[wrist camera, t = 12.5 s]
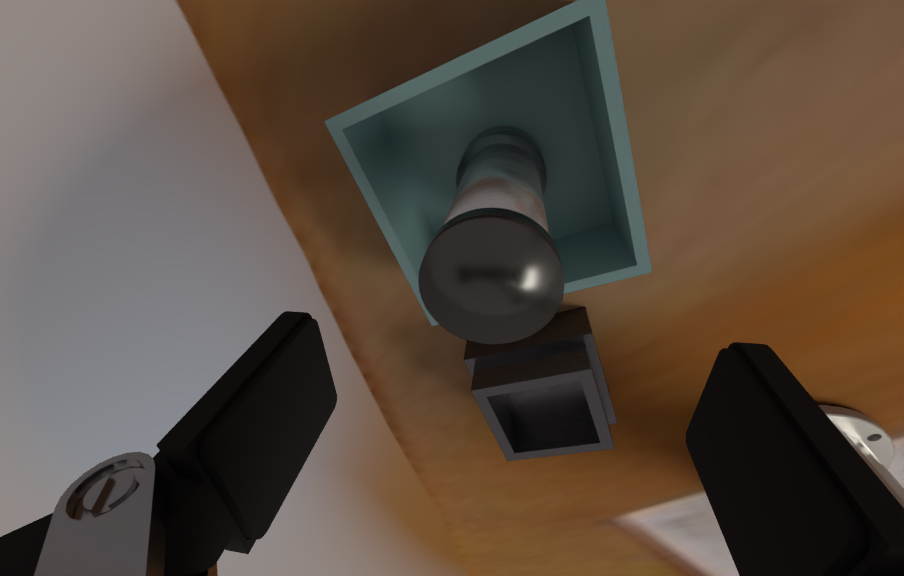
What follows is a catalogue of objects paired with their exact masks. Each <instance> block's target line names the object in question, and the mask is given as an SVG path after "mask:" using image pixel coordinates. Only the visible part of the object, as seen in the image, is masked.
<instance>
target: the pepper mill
mask: <svg viewBox="0 0 904 576" xmlns="http://www.w3.org/2000/svg"><path fill="white" fill-rule="evenodd" d="M546 184H547V173H546V168H545V163H544V159H543V155H542V152H541V149H540V148H539V146H538V144H537V143H536V141H535V140H534V139H533V138H532V137H531V136H530V135H529V134H527V133H526V132H524V131H523V130H521V129H518V128H515V127H511V126H497V127H493V128H490V129H487V130H485V131H483V132H482V133H480V134H478V135H477V136H476V137H475V138H474V139H473V140H472V141H471V142H470V144H469V145H468V147H467V148H466V150H465V152H464V155H463V157H462V159H461V161H460V163H459V166H458V169H457V174H456V187H457V192H456V194H455V197H454V199H453V202H452V205H451V207H450V210H449V212H448V215H447V217H446V220H445V222H444V225H443V226H442V227H441V228H440V229H439V230H438V231H437V232H436V234H435V235H434V237H433V238H432V240H431V242H430V244H429V246H428V248H427V251H426V253H425V255H424V258H423V260H422V263H421V266H420V270H419V279H418V284H419V291H420V295H421V298H422V301H423V303H424V305H425V307H426V309H427V310H428V312H429V313H430V315H431V316H432V317H433V318H434V320H435V321H437V322H438V323H439V324H440V325H441V326H442V327H443V328H445V329H446V330H447V331H449V332H451V333H452V334H454V335H456V336H458V337H461V338H463V339H466V340H469V341H473V342H477V343H483V344H505V343H511V342H515V341H518V340H521V339H524V338H526V337H529V336H531V335H533V334H534V333H536V332H538V331H539V330H540V329H542V328H543V327H544V326H545V325H546V324H547V323H549V321H550V320H551V319H552V318H553V317H554V315H555V314H556V312H557V310H558V309H559V306H560V304H561V302H562V298H563V294H564V275H563V270H562V265H561V260H560V256H559V252H558V249H557V247H556V245H555V243H554V241H553V239H552V238H551V236H550V235H549V230H548V225H547V219H546V213H545V208H544V202H543V195H544V192H545V189H546Z"/></svg>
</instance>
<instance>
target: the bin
mask: <svg viewBox="0 0 904 576" xmlns="http://www.w3.org/2000/svg"><path fill="white" fill-rule="evenodd" d="M324 122H325V124H326V126H327V128H328V130H329V132H330V134H331V136H332V138H333V139H334V141H335V143H336V145H337V147H338V149H339V151H340V153H341V155H342V157H343V158H344V160H345V162H346V164H347V166H348V168H349V170H350V172H351V174H352V176H353V177H354V179H355V181H356V183H357V185H358V187H359V189H360V191H361V193H362V195H363V196H364V198H365V200H366V202H367V204H368V206H369V208H370V210H371V212H372V214H373V215H374V217H375V219H376V221H377V223H378V225H379V227H380V229H381V231H382V233H383V234H384V236H385V238H386V240H387V242H388V244H389V246H390V248H391V250H392V252H393V253H394V255H395V257H396V259H397V261H398V263H399V265H400V267H401V269H402V271H403V272H404V274H405V276H406V278H407V280H408V282H409V284H410V286H411V288H412V290H413V291H414V293H415V295H416V297H417V299H418V301H419V303H420V305H421V307H422V309H423V310H424V312H425V314H426V316H427V318H428V320H429V322H430V324H431V326H435V325H439V323H438V322H437V321H435V320H434V318H433V317H432V316H431V315H430V313H429V312H428V310H427V309H426V307H425V305H424V303H423V301H422V298H421V295H420V291H419V284H418V279H419V270H420V266H421V263H422V260H423V258H424V255H425V253H426V251H427V248H428V246H429V244H430V242H431V240H432V238H433V237H434V235H435V234H436V232H437V231H438V230H439V229H440V228H441V227H442V226H443V225H444V222H445V220H446V217H447V215H448V212H449V210H450V207H451V205H452V202H453V199H454V197H455V194H456V192H457V187H456V174H457V169H458V166H459V163H460V161H461V159H462V157H463V155H464V152H465V150H466V148H467V147H468V145H469V144H470V142H471V141H472V140H473V139H474V138H475V137H476V136H477V135H478V134H480V133H482V132H483V131H485V130H487V129H490V128H493V127H497V126H511V127H515V128H518V129H521V130H523V131H524V132H526V133H527V134H529V135H530V136H531V137H532V138H533V139H534V140H535V141H536V143H537V144H538V146H539V148H540V149H541V152H542V155H543V159H544V163H545V168H546V173H547V184H546V189H545V192H544V195H543V202H544V208H545V213H546V219H547V225H548V230H549V235H550V236H551V238H552V239H553V241H554V243H555V245H556V247H557V249H558V252H559V256H560V260H561V265H562V270H563V275H564V294H566V293H570V292H574V291H578V290H582V289H586V288H590V287H594V286H598V285H602V284H606V283H610V282H614V281H618V280H622V279H627V278H631V277H635V276H639V275H643V274H647V273H651V272H652V269H651V263H650V257H649V251H648V245H647V239H646V234H645V228H644V222H643V216H642V210H641V204H640V199H639V193H638V187H637V181H636V175H635V169H634V163H633V158H632V152H631V146H630V140H629V134H628V128H627V122H626V117H625V111H624V105H623V99H622V93H621V87H620V81H619V76H618V70H617V64H616V58H615V52H614V46H613V41H612V35H611V29H610V23H609V17H608V11H607V5H606V0H577V1H575V2H573V3H571V4H569V5H567V6H565V7H562V8H560V9H558V10H556V11H554V12H552V13H550V14H548V15H546V16H544V17H542V18H539V19H537V20H535V21H533V22H531V23H529V24H527V25H525V26H523V27H521V28H518V29H516V30H514V31H512V32H510V33H508V34H506V35H504V36H502V37H500V38H498V39H495V40H493V41H491V42H489V43H487V44H485V45H483V46H481V47H479V48H477V49H475V50H472V51H470V52H468V53H466V54H464V55H462V56H460V57H458V58H456V59H454V60H451V61H449V62H447V63H445V64H443V65H441V66H439V67H437V68H435V69H433V70H431V71H428V72H426V73H424V74H422V75H420V76H418V77H416V78H414V79H412V80H410V81H407V82H405V83H403V84H401V85H399V86H397V87H395V88H393V89H391V90H389V91H387V92H384V93H382V94H380V95H378V96H376V97H374V98H372V99H370V100H368V101H366V102H364V103H361V104H359V105H357V106H355V107H353V108H351V109H349V110H347V111H345V112H343V113H340V114H338V115H336V116H334V117H332V118H330V119H328V120H326V121H324Z"/></svg>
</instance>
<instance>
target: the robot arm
mask: <svg viewBox="0 0 904 576" xmlns="http://www.w3.org/2000/svg"><path fill="white" fill-rule="evenodd" d="M336 402H337V393H336V390H335V386H334V382H333V378H332V375H331V371H330V367H329V363H328V360H327V356H326V352H325V348H324V344H323V341H322V337H321V333H320V330H319V326H318V323H317V321H316V320H315V319H312V317H311V315H310V314H309V313H304V312H290V311H289V312H288V311H287V312H284V313H282V314H281V315H280V316H279V317H278V318H277V319H276V320H275V321H274V322H273V323H272V324H271V326H270V327H269V328H268V329H267V330H266V331H265V332H264V333H263V334H262V335H261V336H260V337H259V338H258V339H257V340H256V341H255V342H254V343H253V344H252V345H251V347H250V348H248V350H247V351H246V352H245V353H244V354H243V355H242V356H241V357H240V358H239V359H238V360H237V361H236V362H235V363H234V364H233V366H231V367H230V368H229V369H228V370H227V372H226V373H225V374H224V375H223V376H222V377H221V378H220V379H219V380H218V381H217V382H216V383H215V384H214V385H213V386H212V387H211V388H210V389H209V390H208V391H207V393H206V394H205V395H204V396H203V397H202V398H201V399H200V400H199V401H198V402H197V403H196V404H195V405H194V406H193V407H192V408H191V409H190V410H189V411H188V412H187V413H186V415H185V416H184V417H183V418H182V419H181V420H180V421H179V422H178V423H177V424H176V425H175V426H174V427H173V428H172V429H171V430H170V431H169V432H168V433H167V435H165V437H164V438H163V439H162V440H161V441H160V442H159V443H158V444H157V447H158V448H159V450H160V451H159V452H158V453H157V454H156V455H155V457H153V458H152V457H151V456H150V455H148V454H145V453H141V452H132V453H125V454H122V455H119V456H115V457H112V458H110V459H108V460H106V461H104V462H102V463H99V464H98V465H96V466H95V467H93V468H91V469H90V470H88V471H87V472H85V473H84V474H83V475H82V476H81V477H79V478H78V479H77V480H76V481H75V482H74V483H72V484H71V485H70V486H69V488H68V489H67V490H66V491H65V493H64V494H63V495H62V496H61V497H60V499H59V502H58V504H57V505H56V507H55V509H54V513H52V514H50V515H47V516H45V517H43V518H41V519H39V520H36V521H34V522H32V523H30V524H28V525H26V526H23V527H21V528H19V529H17V530H15V531H12V532H10V533H8V534H6V535H4V536H2V537H0V576H217V561H218V559H219V558H220V556H221V554H222V553H223V551H224V549H225V550H229V551H234V552H240V553H246V554H249V552H250V550H251V548H252V547H253V545H254V543H255V541H256V539H260V538H262V537H263V536H264V535H265V533H266V532H267V531H268V529H269V527H270V525H271V523H272V521H273V520H274V518H275V516H276V514H277V512H278V511H279V509H280V507H281V505H282V503H283V501H284V499H285V498H286V496H287V494H288V492H289V491H290V489H291V487H292V485H293V483H294V481H295V480H296V478H297V476H298V474H299V472H300V470H301V469H302V467H303V465H304V463H305V461H306V460H307V458H308V456H309V454H310V452H311V450H312V449H313V447H314V445H315V443H316V441H317V439H318V438H319V436H320V434H321V432H322V430H323V429H324V427H325V425H326V423H327V421H328V419H329V418H330V416H331V414H332V412H333V410H334V408H335V405H336ZM686 443H687V447H688V450H689V453H690V455H691V457H692V460H693V462H694V465H695V467H696V470H697V472H698V475H699V477H700V480H701V482H702V484H703V487H704V489H705V492H706V494H707V497H708V499H709V502H710V504H711V507H712V509H713V511H714V514H715V516H716V519H717V521H718V524H719V526H720V529H721V531H722V534H723V536H724V538H725V541H726V543H727V546H728V548H729V551H730V553H731V556H732V558H733V560H734V563H735V565H736V568H737V570H738V573H739V575H740V576H904V488H903V487H902V486H901V485H900V484H899V483H898V481H897V480H896V479H895V478H894V477H893V476H892V474H891V473H890V472H889V471H888V469H889V467H890V465H891V463H892V461H893V458H894V449H895V447H894V444H893V442H892V439H891V437H890V436H889V435H888V434H887V433H886V432H885V431H884V430H883V429H882V427H881V426H880V425H879V424H878V423H876V422H875V421H874V420H873V419H871V418H870V417H868V416H866V415H864V414H862V413H860V412H858V411H854V410H850V409H847V408H843V407H836V406H828V405H818V404H817V403H816V402H815V401H814V399H813V398H812V397H811V396H810V395H809V393H808V392H807V391H806V390H805V389H804V387H803V386H802V385H801V384H800V383H799V381H798V380H797V379H796V378H795V377H794V375H793V374H792V373H791V372H790V371H789V369H788V368H787V367H786V366H785V365H784V363H783V362H782V361H781V360H780V359H779V357H778V356H777V355H776V354H775V353H774V351H773V350H772V349H771V348H770V347H769V346H767V345H764V344H753V343H738V342H735V343H732V344H730V345H729V347H728V348H724V349H722V350H720V352H719V353H718V356H717V358H716V361H715V363H714V366H713V368H712V370H711V373H710V375H709V378H708V380H707V383H706V385H705V388H704V390H703V392H702V395H701V397H700V400H699V402H698V405H697V407H696V410H695V412H694V414H693V417H692V419H691V422H690V424H689V427H688V429H687V432H686Z"/></svg>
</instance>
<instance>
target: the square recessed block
mask: <svg viewBox="0 0 904 576" xmlns="http://www.w3.org/2000/svg"><path fill="white" fill-rule="evenodd" d="M464 362H465V364H466V366H467V368H468V370H469V372H470V374H471V376H472V378H473V380H472V388H471V392H472V393H473V395H474V397H475V399H476V401H477V403H478V405H479V407H480V409H481V411H482V413H483V415H484V417H485V419H486V421H487V422H488V424H489V426H490V428H491V430H492V432H493V434H494V436H495V438H496V440H497V442H498V444H499V446H500V448H501V450H502V451H503V453H504V455H505V457H506V459H507V461H512V460H521V459H529V458H538V457H547V456H555V455H564V454H572V453H581V452H590V451H598V450H607V449H615V447H614V443H613V439H612V435H611V431H610V427H609V424H616V423H617V420H616V416H615V412H614V409H613V405H612V401H611V397H610V394H609V390H608V386H607V383H606V379H605V376H604V372H603V369H602V365H601V361H600V358H599V354H598V351H597V347H596V344H595V340H594V337H593V333H592V329H591V326H590V322H589V319H588V315H587V312H586V308H585V307H582V308H578V309H574V310H569V311H565V312H561V313H557V314H555V315H554V317H553V318H552V319H551V320H550V321H549V323H547V324H546V325H545V326H544V327H543V328H542V329H540V330H539V331H538V332H536V333H534V334H533V335H531V336H529V337H526V338H524V339H521V340H518V341H515V342H511V343H505V344H483V343H477V342H473V341H469V340H467V343H466V350H465V356H464Z"/></svg>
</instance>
